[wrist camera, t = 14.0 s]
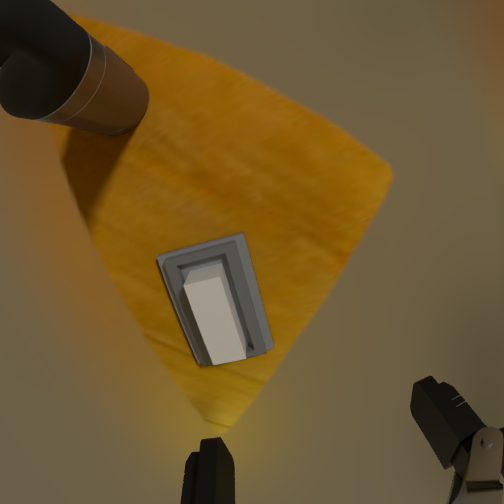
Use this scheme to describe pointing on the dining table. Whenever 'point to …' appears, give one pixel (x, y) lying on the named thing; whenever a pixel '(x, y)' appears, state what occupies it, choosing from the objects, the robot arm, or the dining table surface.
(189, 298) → the off-white tapered block
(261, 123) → the dining table surface
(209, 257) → the cradle
